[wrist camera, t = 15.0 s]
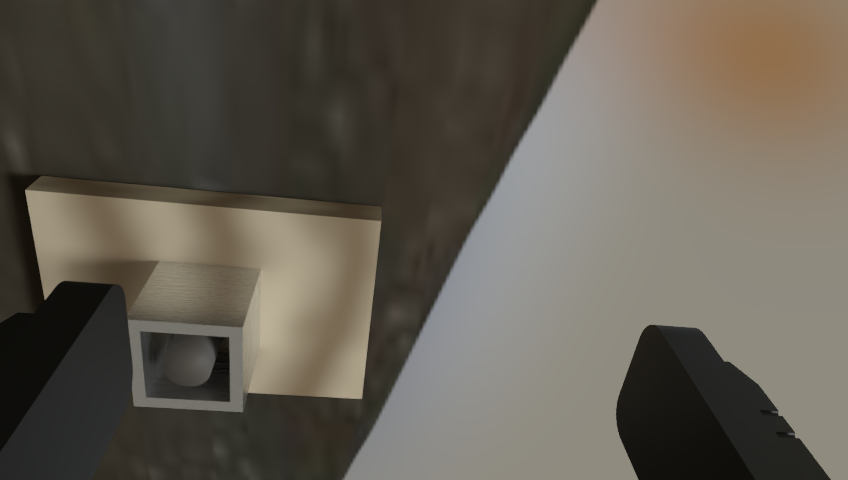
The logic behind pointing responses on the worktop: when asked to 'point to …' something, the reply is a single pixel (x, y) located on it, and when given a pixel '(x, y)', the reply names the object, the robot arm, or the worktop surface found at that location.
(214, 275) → the steel collar
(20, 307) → the worktop surface
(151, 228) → the hub base
